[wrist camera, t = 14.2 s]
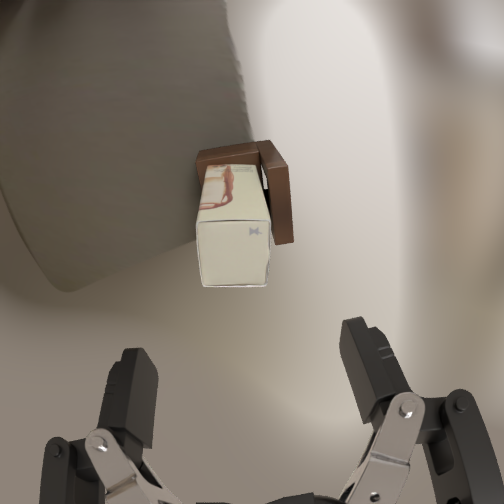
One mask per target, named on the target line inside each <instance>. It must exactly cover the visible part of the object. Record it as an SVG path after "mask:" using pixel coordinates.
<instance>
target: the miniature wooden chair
mask: <svg viewBox="0 0 504 504" xmlns="http://www.w3.org/2000/svg"><path fill="white" fill-rule="evenodd" d="M230 164H233V165H234V164H237V165H255V166H256V168H257V172H258V176H259V179H260V183H261V187H262V190H263V193H264V197H265V201H266V204H267V208H268V212H269V216H270V219H271V231H272V235H273V238H274V242H275V245H281V244H287V243H293V242H294V236H293V221H292V208H291V195H290V182H289V171H288V165H287V164H286V162H285V161H284V159H283V158H282V156H281V155H280V153H279V152H278V151H277V149H276V148H275V146H274V145H273V143H272V142H271V141H270V140H265V141H257V142H250V143H243V144H236V145H230V146H224V147H218V148H212V149H207V150H201V151H199V153H198V156H197V159H196V167H197V172H198V177H199V181H200V186H201V191H202V190H203V185H204V180H205V174H206V169H207V166H209V165H230ZM261 165H262V168H263V170H264V173H265V175H266V178H267V186H268V189H264V186H263V178H262V170H261Z"/></svg>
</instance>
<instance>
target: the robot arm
mask: <svg viewBox="0 0 504 504" xmlns="http://www.w3.org/2000/svg"><path fill="white" fill-rule="evenodd" d="M339 348H340V354H341V358H342V361H343V364H344V366H345V369H346V372H347V375H348V378H349V381H350V384H351V387H352V390H353V393H354V396H355V399H356V403H357V406H358V409H359V411H360V415H361V418H362V421H363V424H366V423H369V422H371V423H372V426H373V432H372V434H371V436H370V439H369V441H368V443H367V445H366V448H365V450H364V452H363V454H362V456H361V458H360V460H359V462H358V464H357V466H356V468H355V470H354V472H353V473H352V475H351V476H350V478H349V480H348V482H347V483H346V485H345V487H344V489H343V491H342V493H341V494H340V496H339V498H338V499H335V498H332V497H328V496H321V495H314V494H313V493H307V494H301V495H296V496H290V497H283V498H281V499H278V500H275V501H272V502H270V503H267V504H396V502H397V500H398V498H399V496H400V493H401V491H402V489H403V487H404V484H405V482H406V480H407V477H408V474H409V471H410V464H409V461H410V457H411V455H412V452H413V449H414V446H415V444H422V446H423V449H424V453H425V456H426V460H427V463H428V468H429V471H430V475H431V480H432V484H433V488H434V492H435V497H436V502H437V504H504V485H503V481H502V477H501V473H500V470H499V466H498V463H497V459H496V456H495V453H494V450H493V447H492V444H491V441H490V438H489V435H488V432H487V430H486V427H485V424H484V422H483V419H482V416H481V414H480V411H479V409H478V406H477V404H476V401H475V399H474V397H473V396H472V394H471V393H470V392H468V391H466V390H463V389H457V390H454V391H452V392H451V393H450V394H449V395H448V396H447V397H439V398H424V397H420V396H418V395H417V394H415V393H414V392H413V391H412V390H411V389H410V387H409V385H408V383H407V381H406V379H405V377H404V374H403V372H402V370H401V367H400V365H399V363H398V361H397V359H396V357H395V356H394V353H393V351H392V348H390V344H389V342H388V340H387V338H386V336H385V335H384V334H383V333H382V332H381V331H380V330H379V329H378V328H377V327H372V328H368V327H367V325H366V323H365V321H364V319H363V318H362V317H356V318H352V319H347V320H343V322H342V329H341V336H340V343H339ZM157 388H158V372H157V369H156V367H155V366H154V364H153V363H152V361H151V359H150V358H149V356H148V355H147V353H146V352H145V350H144V349H143V348H129V349H128V348H127V349H125V350H124V351H123V354H122V358H121V361H119V362H115V364H114V365H113V367H112V368H111V370H110V371H109V375H108V379H107V385H106V388H105V393H104V397H103V402H102V406H101V411H100V416H99V422H98V426H97V428H96V429H94V430H92V431H91V432H90V433H89V434H88V436H87V437H86V438H84V439H80V440H75V441H70V442H68V441H66V440H64V439H63V438H61V437H54V438H52V439H50V440H49V441H48V443H47V444H46V447H45V452H44V459H43V467H42V477H41V486H40V500H39V504H105V499H106V501H107V503H108V504H182V502H181V501H180V500H179V499H178V498H177V497H176V496H175V495H174V494H173V493H171V492H170V491H169V490H168V489H167V488H166V487H165V486H164V484H163V483H162V481H161V480H160V479H159V477H158V476H157V475H156V473H155V472H154V471H153V469H152V468H151V467H150V465H149V464H148V462H147V461H146V459H145V458H144V457H143V455H142V453H143V448H149V449H152V439H153V426H154V416H155V415H154V414H155V406H156V397H157ZM105 488H106V490H107V493H106V494H105ZM196 504H229V503H196Z"/></svg>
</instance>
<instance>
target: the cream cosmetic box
mask: <svg viewBox="0 0 504 504" xmlns="http://www.w3.org/2000/svg"><path fill="white" fill-rule="evenodd" d="M196 239H197V253H198V261H199V269H200V275H201V281H202V285H203V287H265V286H266V285H267V282H268V274H269V263H270V251H271V219H270V216H269V212H268V208H267V204H266V201H265V197H264V193H263V190H262V187H261V183H260V179H259V176H258V172H257V168H256V166H255V165H237V164H234V165H233V164H230V165H209V166H207V169H206V174H205V180H204V185H203V190H202V195H201V200H200V206H199V211H198V216H197V221H196Z"/></svg>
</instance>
